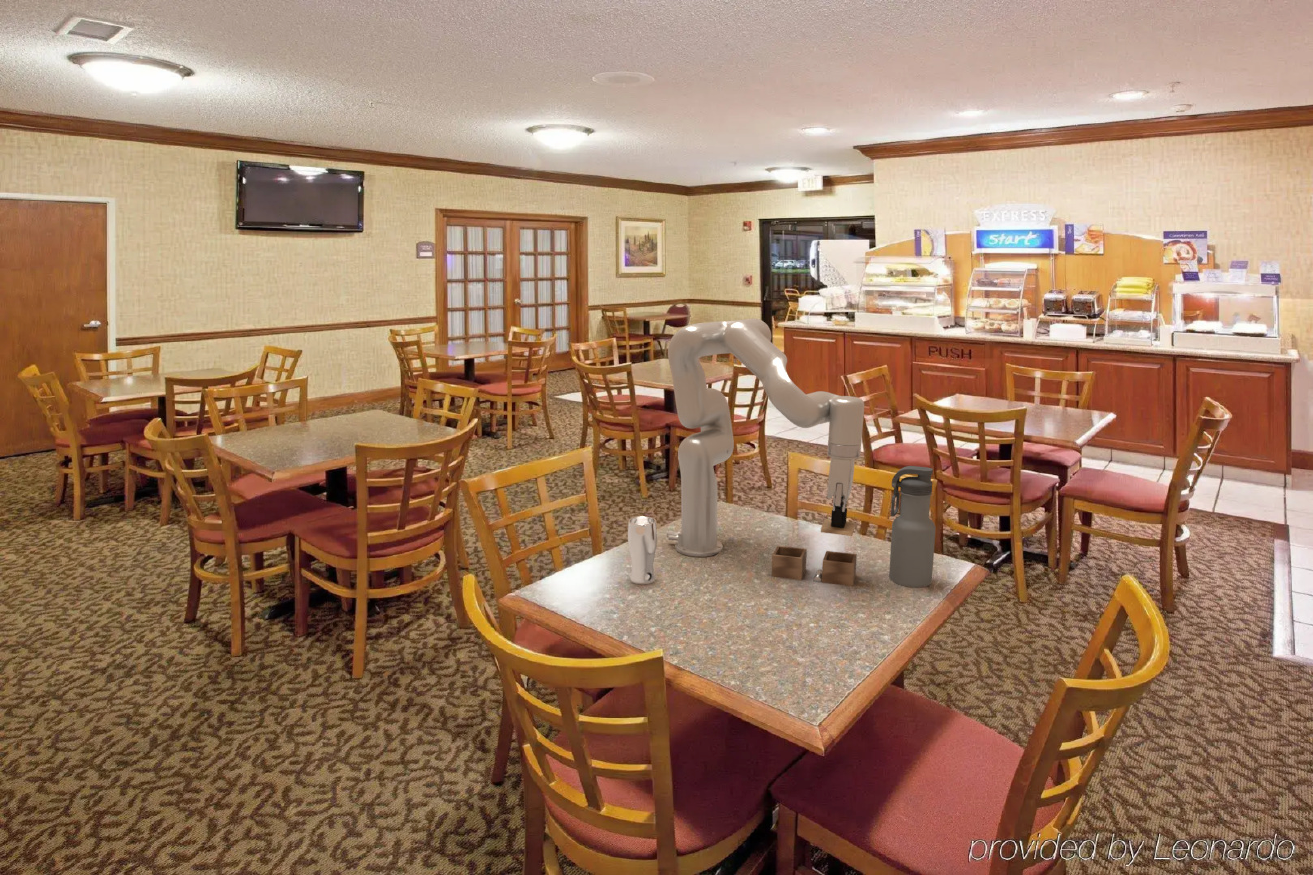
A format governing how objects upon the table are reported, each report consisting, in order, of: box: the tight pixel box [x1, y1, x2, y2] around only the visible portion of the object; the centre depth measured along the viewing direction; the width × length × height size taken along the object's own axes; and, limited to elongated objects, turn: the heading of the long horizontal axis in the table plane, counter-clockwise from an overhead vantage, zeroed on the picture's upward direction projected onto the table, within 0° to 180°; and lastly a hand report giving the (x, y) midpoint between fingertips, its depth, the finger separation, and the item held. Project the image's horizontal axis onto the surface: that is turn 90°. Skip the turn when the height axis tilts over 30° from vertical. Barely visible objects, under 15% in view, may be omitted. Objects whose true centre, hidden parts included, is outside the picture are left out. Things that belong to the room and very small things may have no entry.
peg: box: [812, 569, 822, 583], centre depth 192 cm, size 5×2×2 cm
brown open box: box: [771, 545, 808, 581], centre depth 195 cm, size 7×7×6 cm
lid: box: [820, 502, 856, 537], centre depth 189 cm, size 7×7×7 cm
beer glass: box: [627, 516, 658, 585], centre depth 191 cm, size 7×7×15 cm
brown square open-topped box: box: [821, 550, 858, 587], centre depth 191 cm, size 7×7×6 cm
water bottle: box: [888, 465, 936, 588], centre depth 188 cm, size 10×10×28 cm
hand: (838, 524), depth 189 cm, fingers closed on lid
